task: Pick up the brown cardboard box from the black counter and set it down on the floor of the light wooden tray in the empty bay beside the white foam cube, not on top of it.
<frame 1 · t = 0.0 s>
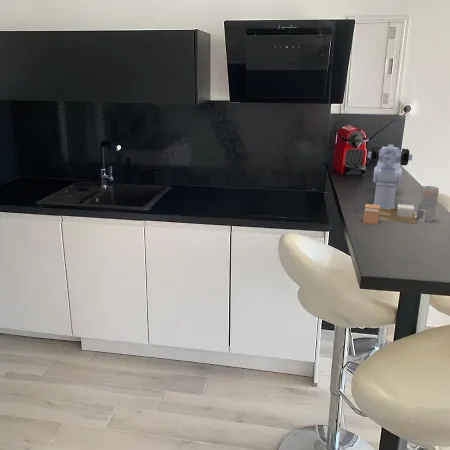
hand: (389, 156, 152), 22 cm above the table, tool horizontal, fingers open, 7 cm apart
white foam cube: (404, 219, 158), point 1 cm above the table, touching light wooden tray
brown cardboard box: (370, 223, 154), on the table
light wooden tray: (393, 219, 159), on the table
energy drink: (425, 222, 157), on the table
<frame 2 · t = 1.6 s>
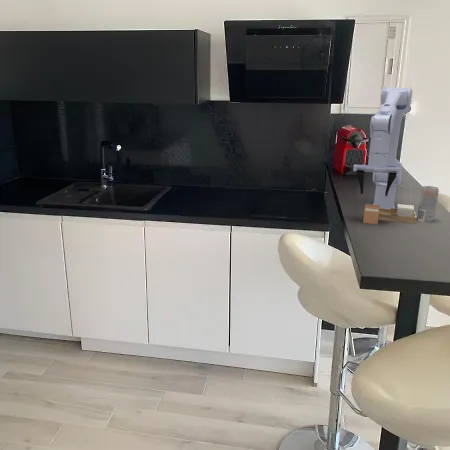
hand: (373, 194, 151), 10 cm above the table, tool pointing down, fingers open, 7 cm apart
nothing on the table moved.
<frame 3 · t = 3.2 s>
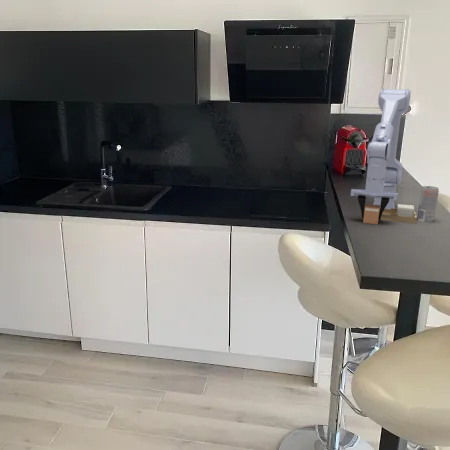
hand: (371, 218, 154), 2 cm above the table, tool pointing down, fingers closed on brown cardboard box, 5 cm apart
brown cardboard box: (370, 223, 154), on the table, touching gripper
everything else where it was.
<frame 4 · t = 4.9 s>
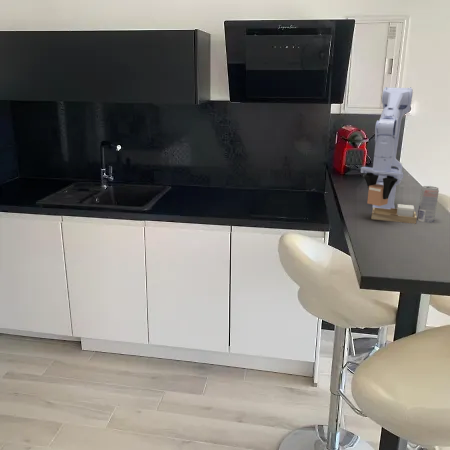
hand: (378, 197, 154), 8 cm above the table, tool pointing down, fingers closed on brown cardboard box, 5 cm apart
brown cardboard box: (377, 203, 154), point 6 cm above the table, touching gripper
everything else where it was.
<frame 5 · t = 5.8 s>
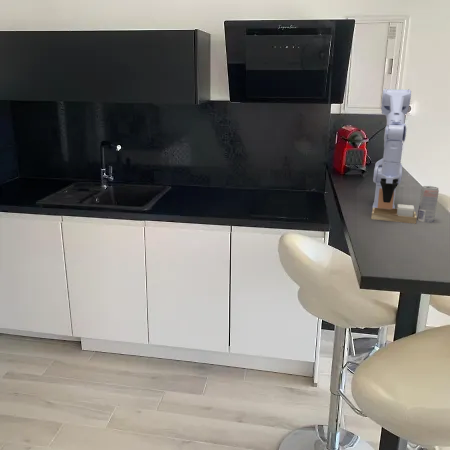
hand: (386, 200, 158), 6 cm above the table, tool pointing down, fingers closed on brown cardboard box, 5 cm apart
brown cardboard box: (385, 207, 159), point 4 cm above the table, touching gripper
everything else where it was.
when the fingers open (4 cm above the table, at t = 6.7 s): brown cardboard box stays where it is, resting on light wooden tray.
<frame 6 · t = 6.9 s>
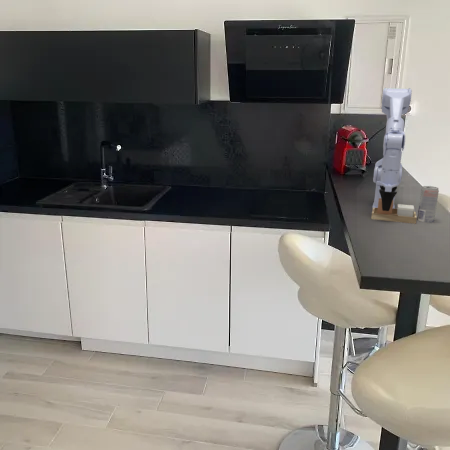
hand: (385, 208, 159), 4 cm above the table, tool pointing down, fingers open, 6 cm apart
brown cardboard box: (383, 217, 160), point 1 cm above the table, touching light wooden tray
everything else where it was.
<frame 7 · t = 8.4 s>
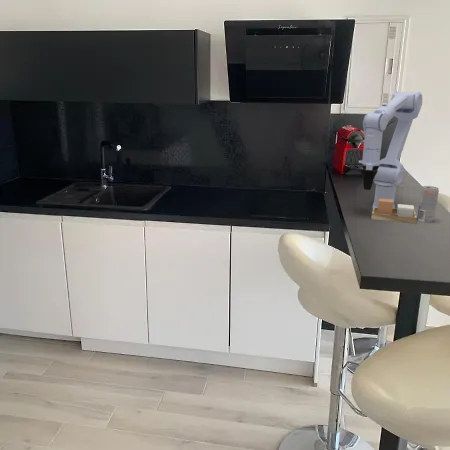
hand: (367, 187, 162), 10 cm above the table, tool pointing down, fingers open, 7 cm apart
nothing on the table moved.
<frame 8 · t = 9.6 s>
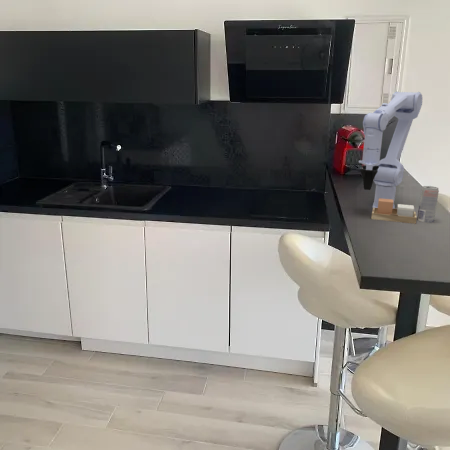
hand: (367, 187, 162), 10 cm above the table, tool pointing down, fingers open, 7 cm apart
nothing on the table moved.
at the end: brown cardboard box 0.2 cm from the target spot, point 0.6 cm above the table; brown cardboard box tilted 0°; white foam cube moved 0.0 cm from its start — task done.
